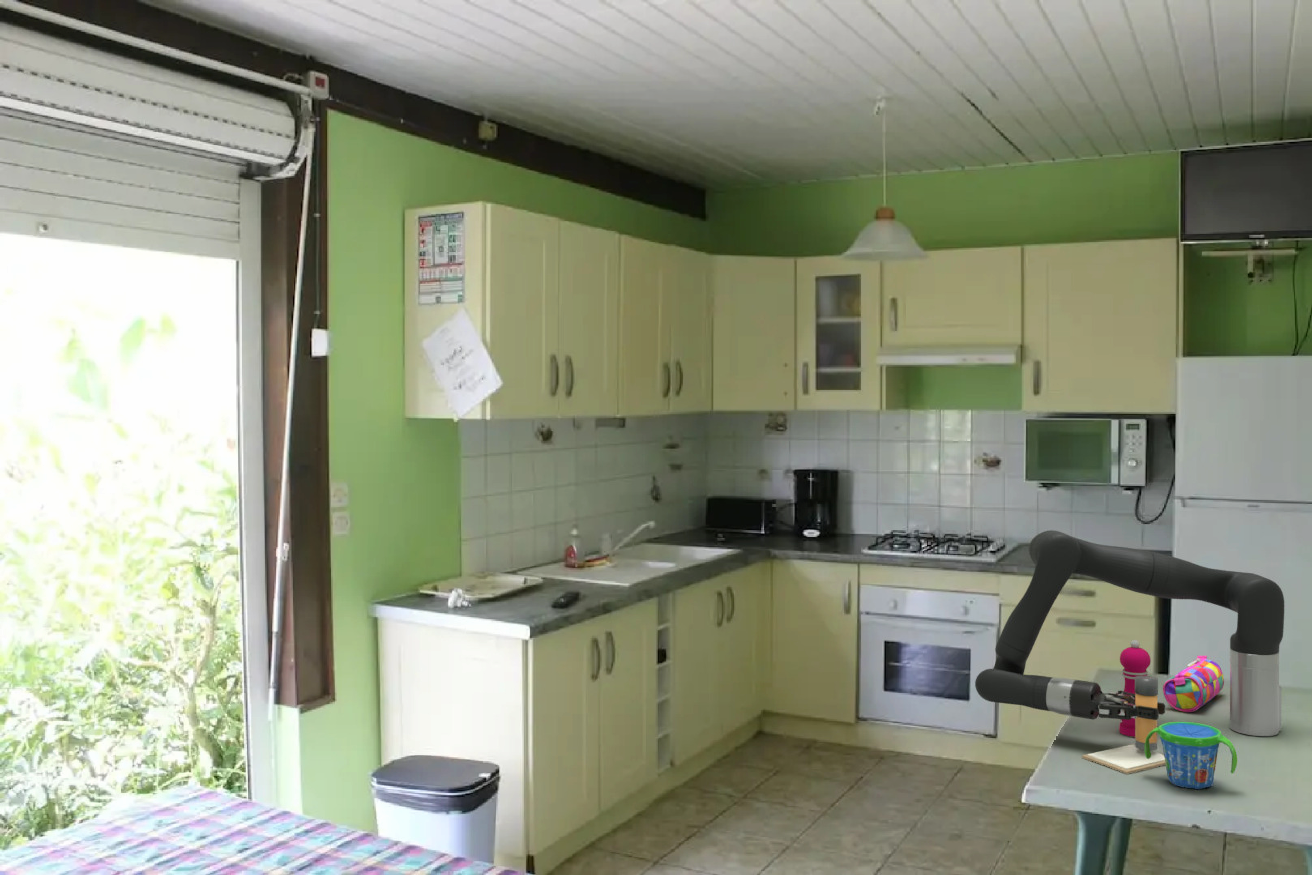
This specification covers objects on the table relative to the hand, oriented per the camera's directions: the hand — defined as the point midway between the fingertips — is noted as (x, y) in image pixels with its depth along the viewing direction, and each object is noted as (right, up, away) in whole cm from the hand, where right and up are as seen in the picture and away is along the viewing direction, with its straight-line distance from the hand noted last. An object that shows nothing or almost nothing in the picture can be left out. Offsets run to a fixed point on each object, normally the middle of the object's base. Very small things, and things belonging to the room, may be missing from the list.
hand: (1160, 711), depth 222 cm
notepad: (-6, -10, 0) cm, 12 cm away
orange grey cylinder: (-2, -8, +2) cm, 8 cm away
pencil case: (+25, -8, +39) cm, 47 cm away
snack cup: (-1, -10, -13) cm, 17 cm away
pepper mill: (+2, -9, +17) cm, 19 cm away
